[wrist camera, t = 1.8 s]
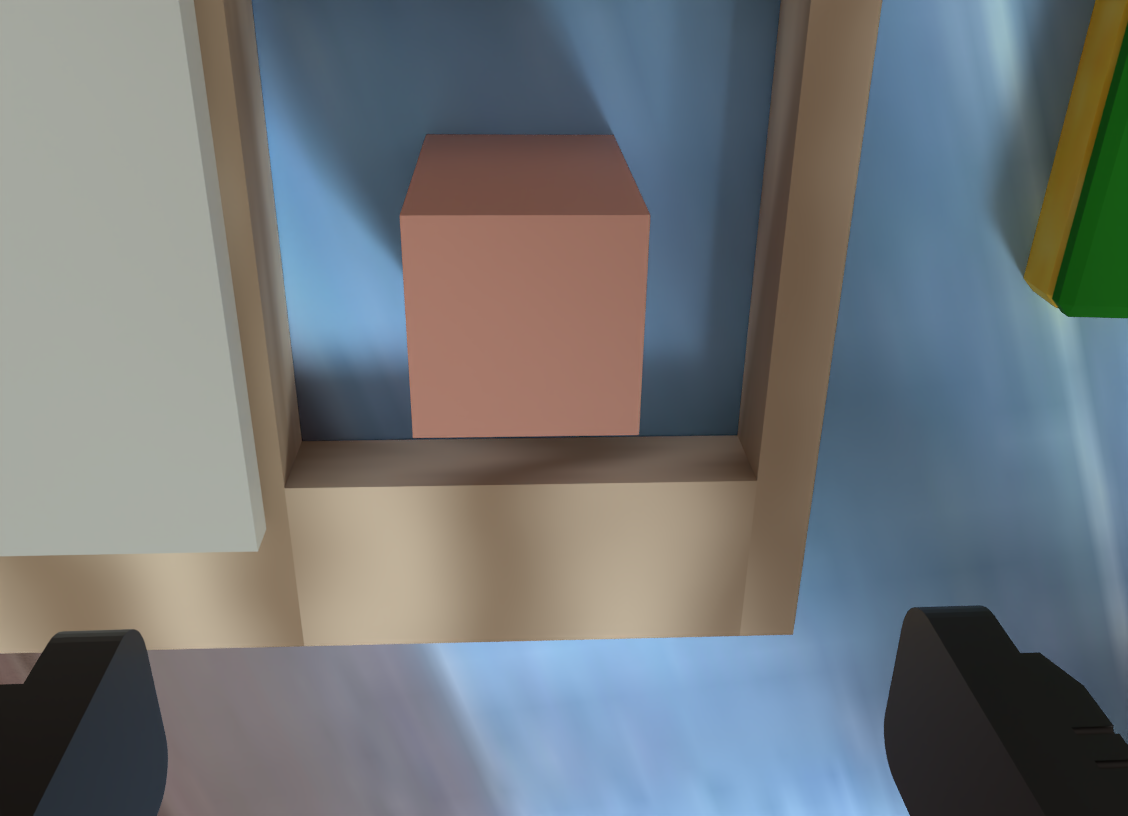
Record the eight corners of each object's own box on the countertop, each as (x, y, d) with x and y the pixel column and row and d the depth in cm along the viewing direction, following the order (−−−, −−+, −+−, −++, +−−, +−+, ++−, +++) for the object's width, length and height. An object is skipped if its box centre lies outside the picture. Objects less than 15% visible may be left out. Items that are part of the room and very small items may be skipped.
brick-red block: (613, 134, 25) (650, 214, 19) (607, 309, 27) (638, 434, 21) (426, 134, 25) (399, 215, 18) (434, 310, 27) (412, 437, 20)
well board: (882, -295, 21) (927, -318, 19) (772, 581, 31) (792, 634, 29) (-445, -328, 20) (-565, -357, 18) (-121, 600, 30) (-171, 657, 27)
